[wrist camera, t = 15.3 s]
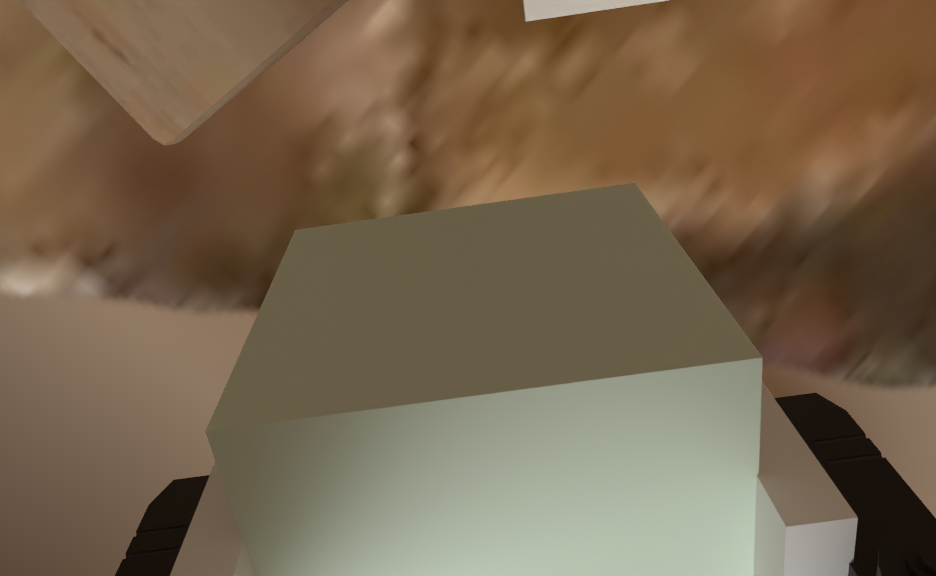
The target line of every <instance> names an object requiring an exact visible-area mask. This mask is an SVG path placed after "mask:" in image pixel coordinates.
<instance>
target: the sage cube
mask: <svg viewBox="0 0 936 576" xmlns="http://www.w3.org/2000/svg"><path fill="white" fill-rule="evenodd" d="M761 389H762V356H761V355H760V354H759V352H758V351H757V349H756V348H755V347H754V345H753V344H752V343H751V341H750V340H749V338H748V337H747V336H746V334H745V333H744V332H743V330H742V329H741V328H740V326H739V325H738V323H737V322H736V321H735V319H734V318H733V317H732V315H731V314H730V313H729V311H728V310H727V308H726V307H725V306H724V304H723V303H722V302H721V300H720V299H719V297H718V296H717V295H716V293H715V292H714V291H713V289H712V288H711V287H710V285H709V284H708V282H707V281H706V280H705V278H704V277H703V276H702V274H701V273H700V272H699V270H698V269H697V267H696V266H695V265H694V263H693V262H692V261H691V259H690V258H689V257H688V255H687V254H686V252H685V251H684V250H683V248H682V247H681V246H680V244H679V243H678V241H677V240H676V239H675V237H674V236H673V235H672V233H671V232H670V231H669V229H668V228H667V226H666V225H665V224H664V222H663V221H662V220H661V218H660V217H659V216H658V214H657V213H656V211H655V210H654V209H653V207H652V206H651V205H650V203H649V202H648V200H647V199H646V198H645V196H644V195H643V194H642V192H641V191H640V190H639V188H638V187H637V185H636V184H635V183H631V184H624V185H617V186H609V187H602V188H595V189H588V190H581V191H573V192H566V193H559V194H552V195H544V196H537V197H530V198H523V199H516V200H508V201H501V202H494V203H487V204H479V205H472V206H465V207H458V208H451V209H443V210H436V211H429V212H422V213H414V214H407V215H400V216H393V217H386V218H378V219H371V220H364V221H357V222H349V223H342V224H335V225H328V226H321V227H313V228H306V229H299V230H295V232H294V234H293V236H292V239H291V241H290V243H289V245H288V248H287V250H286V252H285V254H284V257H283V259H282V261H281V263H280V266H279V268H278V270H277V272H276V274H275V277H274V279H273V281H272V283H271V286H270V288H269V290H268V292H267V295H266V297H265V299H264V301H263V304H262V306H261V308H260V310H259V313H258V315H257V317H256V319H255V322H254V324H253V326H252V328H251V331H250V333H249V335H248V337H247V340H246V342H245V344H244V346H243V348H242V351H241V353H240V355H239V358H238V360H237V362H236V364H235V366H234V369H233V371H232V373H231V376H230V378H229V380H228V382H227V384H226V387H225V389H224V391H223V393H222V396H221V398H220V400H219V402H218V405H217V407H216V409H215V411H214V414H213V416H212V418H211V420H210V423H209V425H208V427H207V429H206V434H207V437H208V440H209V443H210V446H211V449H212V452H213V455H214V458H215V461H216V464H217V467H218V470H219V473H220V476H221V479H222V482H223V485H224V488H225V491H226V494H227V497H228V500H229V503H230V506H231V509H232V512H233V515H234V518H235V521H236V524H237V527H238V530H239V533H240V536H241V539H242V541H244V542H245V545H246V548H247V551H248V554H249V557H250V560H251V563H252V566H253V569H254V572H255V575H256V576H753V572H754V541H755V510H756V480H757V475H759V453H760V421H761Z"/></svg>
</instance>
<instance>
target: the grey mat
mask: <svg viewBox="0 0 936 576" xmlns="http://www.w3.org/2000/svg"><path fill="white" fill-rule="evenodd" d="M660 1H667V0H523V6H524V16H525V21H533V20H539V19H546V18H553V17H559V16H566V15H573V14H580V13H586V12H593V11H600V10H606V9H613V8H620V7H627V6H633V5H640V4H647V3H653V2H660Z"/></svg>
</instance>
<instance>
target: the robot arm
mask: <svg viewBox="0 0 936 576" xmlns="http://www.w3.org/2000/svg"><path fill="white" fill-rule="evenodd" d="M136 533H137V535H136V537H133V539H132V541H131V543H130V545H129V548H128V550H127V552H126V559H123V560H122V562H121V564H120V566H119V568H118V570H117V572H116V575H115V576H256V575H255V572H254V569H253V566H252V563H251V560H250V557H249V554H248V551H247V548H246V545H245V542H244V541H242V539H241V536H240V533H239V530H238V527H237V524H236V521H235V518H234V515H233V512H232V509H231V506H230V503H229V500H228V497H227V494H226V491H225V488H224V485H223V482H222V479H221V476H220V473H219V470H218V467H217V464H216V461H215V463H214V466H213V468H212V471H211V473H210V475H208V476H200V477H193V478H185V479H177V480H173V481H172V482H171V483H170V484H169V485H168V486H167V487H166V488H165V489H164V490H163V491H162V492H161V493H160V494H159V495H158V496H157V498H155V499H154V500H153V501H152V502H151V503H150V504H149V506H148V508H147V510H146V512H145V514H144V516H143V518H142V520H141V523H140V525H139V527H138V529H137V531H136ZM753 576H936V518H935V517H934V516H933V515H932V514H931V512H930V511H929V510H928V509H927V508H926V507H925V505H924V504H923V503H922V502H921V500H920V499H919V498H918V497H917V496H916V494H915V493H914V492H913V491H912V490H911V488H910V487H909V486H908V485H907V483H906V482H905V481H904V480H903V479H902V477H901V476H900V475H899V474H898V473H897V472H896V470H895V469H894V468H893V467H892V465H891V464H890V463H889V462H888V461H887V459H886V458H882V456H881V452H880V451H879V450H878V448H877V447H876V446H875V445H874V444H873V442H872V441H871V440H870V439H869V438H867V439H866V436H865V433H864V432H863V430H862V429H861V428H860V427H859V426H858V424H857V423H856V422H855V421H854V420H853V418H852V417H851V416H850V415H849V414H848V412H847V411H846V410H844V409H842V408H841V407H839V406H837V405H835V404H834V403H832V402H831V401H829V400H827V399H825V398H824V397H822V396H820V395H819V394H817V393H811V394H803V395H796V396H788V397H780V398H773V396H772V395H771V393H770V392H769V390H768V389H767V387H766V386H765V385H764V383H763V382H762V389H761V421H760V453H759V475H757V480H756V510H755V541H754V572H753Z"/></svg>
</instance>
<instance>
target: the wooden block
mask: <svg viewBox="0 0 936 576" xmlns="http://www.w3.org/2000/svg"><path fill="white" fill-rule="evenodd" d="M19 1H20V2H21V3H22V4H23V5H24V6H25V7H26V8H27V9H28V10H29V11H30V12H31V13H32V14H33V15H34V16H35V17H36V18H37V19H38V20H39V21H40V22H41V23H42V24H43V25H44V26H45V27H46V28H47V29H48V31H49V32H50V33H51V34H52V35H53V36H54V37H55V38H56V39H57V40H58V41H59V42H60V43H61V44H62V45H63V46H64V47H65V48H66V49H67V50H68V51H69V52H70V53H71V54H72V55H73V56H74V57H75V58H76V59H77V60H78V61H79V63H80V64H81V65H82V66H83V67H84V68H85V69H86V70H87V71H88V72H89V73H90V74H91V75H92V76H93V77H94V78H95V79H96V80H97V81H98V82H99V83H100V84H101V85H102V86H103V87H104V88H105V89H106V90H107V91H108V92H109V94H110V95H111V96H112V97H113V98H114V99H115V100H116V101H117V102H118V103H119V104H120V105H121V106H122V107H123V108H124V109H125V110H126V111H127V112H128V113H129V114H130V115H131V116H132V117H133V118H134V119H135V120H136V121H137V122H138V123H139V124H140V126H141V127H142V128H143V129H144V130H145V131H146V132H147V133H148V134H149V135H150V136H151V137H152V138H153V139H155V140H156V141H158V142H160V143H161V144H163V145H171V144H174V143H178V142H181V141H182V140H183V139H184V138H185V137H187V136H188V135H189V134H190V133H191V132H193V131H194V130H195V129H196V128H197V127H199V126H200V125H201V124H202V123H203V122H205V121H206V120H207V119H208V118H209V117H211V116H212V115H213V114H214V113H215V112H217V111H218V110H219V109H220V108H221V107H223V106H224V105H225V104H226V103H227V102H229V101H230V100H231V99H232V98H233V97H235V96H236V95H237V94H238V93H239V92H241V91H242V90H243V89H244V88H245V87H247V86H248V85H249V84H250V83H251V82H253V81H254V80H255V79H256V78H257V77H259V76H260V75H261V74H262V73H263V72H265V71H266V70H267V69H268V68H269V67H271V66H272V65H273V64H274V63H275V62H277V61H278V60H279V59H280V58H281V57H283V56H284V55H285V54H286V53H287V52H288V51H290V50H291V49H292V48H293V47H294V46H296V45H297V44H298V43H299V42H300V41H301V40H303V39H304V38H305V37H306V36H307V35H308V34H310V33H311V32H312V31H313V30H314V29H315V28H317V27H318V26H319V25H320V24H321V23H322V22H323V21H325V20H326V19H327V18H328V17H329V16H330V15H332V14H333V13H334V12H335V11H336V10H337V9H338V8H340V7H341V6H342V5H343V4H344V3H345V2H347V1H348V0H19Z"/></svg>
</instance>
